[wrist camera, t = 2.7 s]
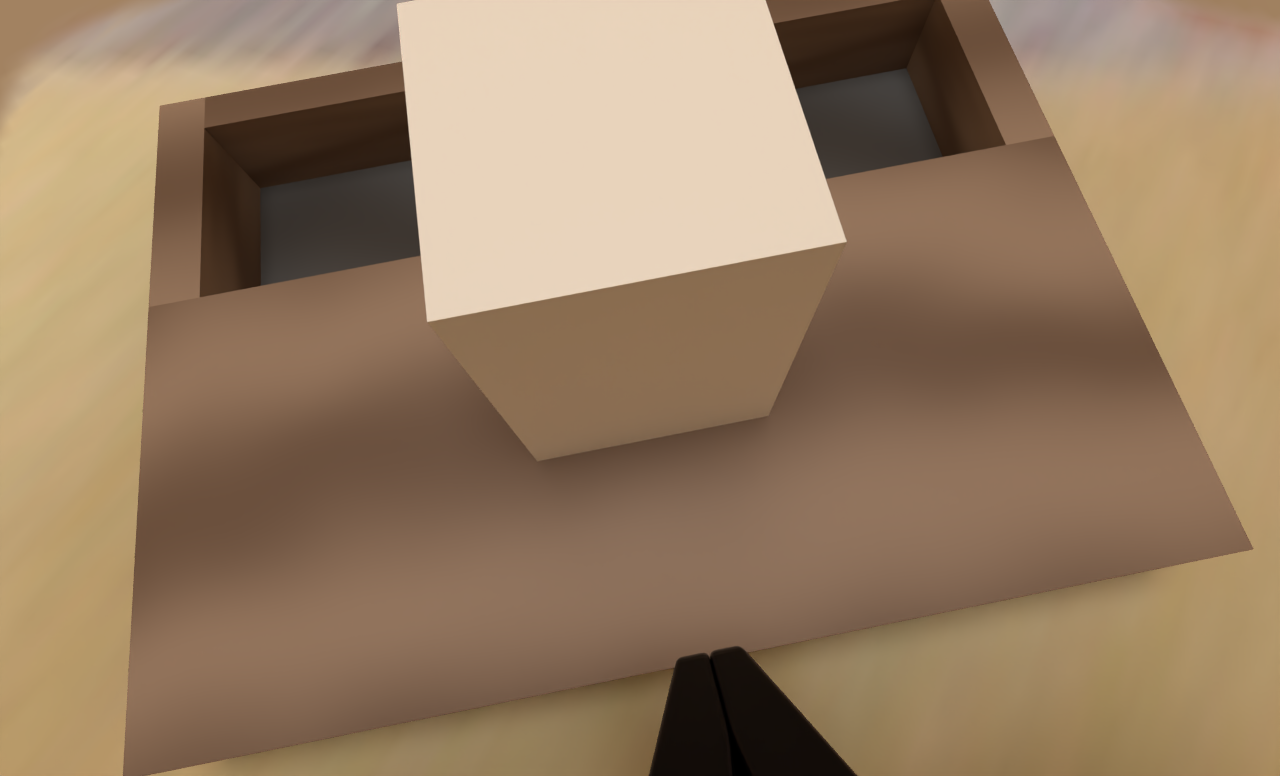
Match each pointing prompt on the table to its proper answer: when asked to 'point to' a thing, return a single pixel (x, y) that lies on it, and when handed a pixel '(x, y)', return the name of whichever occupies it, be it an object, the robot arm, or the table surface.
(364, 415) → the brown compartment tray
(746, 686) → the robot arm
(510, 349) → the block
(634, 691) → the table surface
